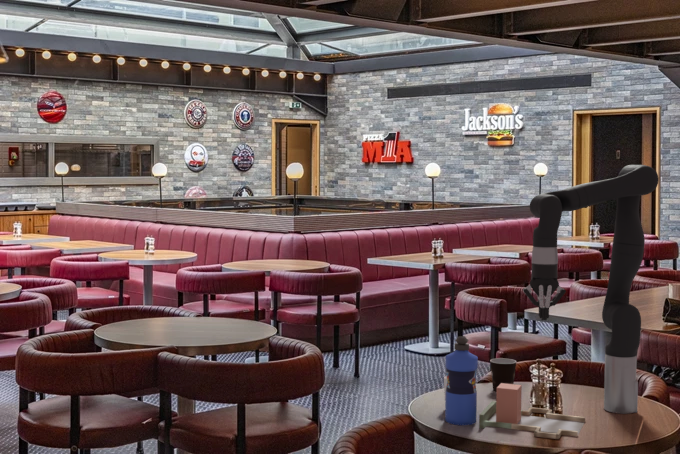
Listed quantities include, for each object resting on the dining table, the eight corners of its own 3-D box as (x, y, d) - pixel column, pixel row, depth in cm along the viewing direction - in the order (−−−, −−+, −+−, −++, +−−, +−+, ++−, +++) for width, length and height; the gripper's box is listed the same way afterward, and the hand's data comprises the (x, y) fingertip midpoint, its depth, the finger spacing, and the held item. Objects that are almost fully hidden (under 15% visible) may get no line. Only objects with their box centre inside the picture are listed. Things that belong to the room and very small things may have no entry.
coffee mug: (510, 395, 288) (510, 364, 288) (485, 391, 293) (486, 361, 292) (523, 387, 298) (523, 358, 297) (499, 384, 303) (499, 355, 302)
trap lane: (587, 420, 259) (587, 407, 259) (574, 444, 236) (574, 430, 236) (495, 410, 270) (495, 397, 269) (475, 432, 247) (475, 418, 247)
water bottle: (442, 424, 255) (443, 338, 253) (447, 415, 264) (448, 332, 262) (475, 426, 253) (476, 340, 251) (478, 417, 262) (479, 334, 260)
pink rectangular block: (521, 418, 257) (521, 385, 256) (516, 424, 252) (517, 389, 251) (500, 416, 259) (501, 383, 259) (496, 421, 254) (496, 387, 253)
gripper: (564, 260, 265) (563, 318, 266) (520, 260, 265) (519, 317, 266) (569, 263, 257) (568, 322, 258) (524, 263, 258) (523, 321, 259)
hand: (543, 319), depth 262 cm, fingers closed
